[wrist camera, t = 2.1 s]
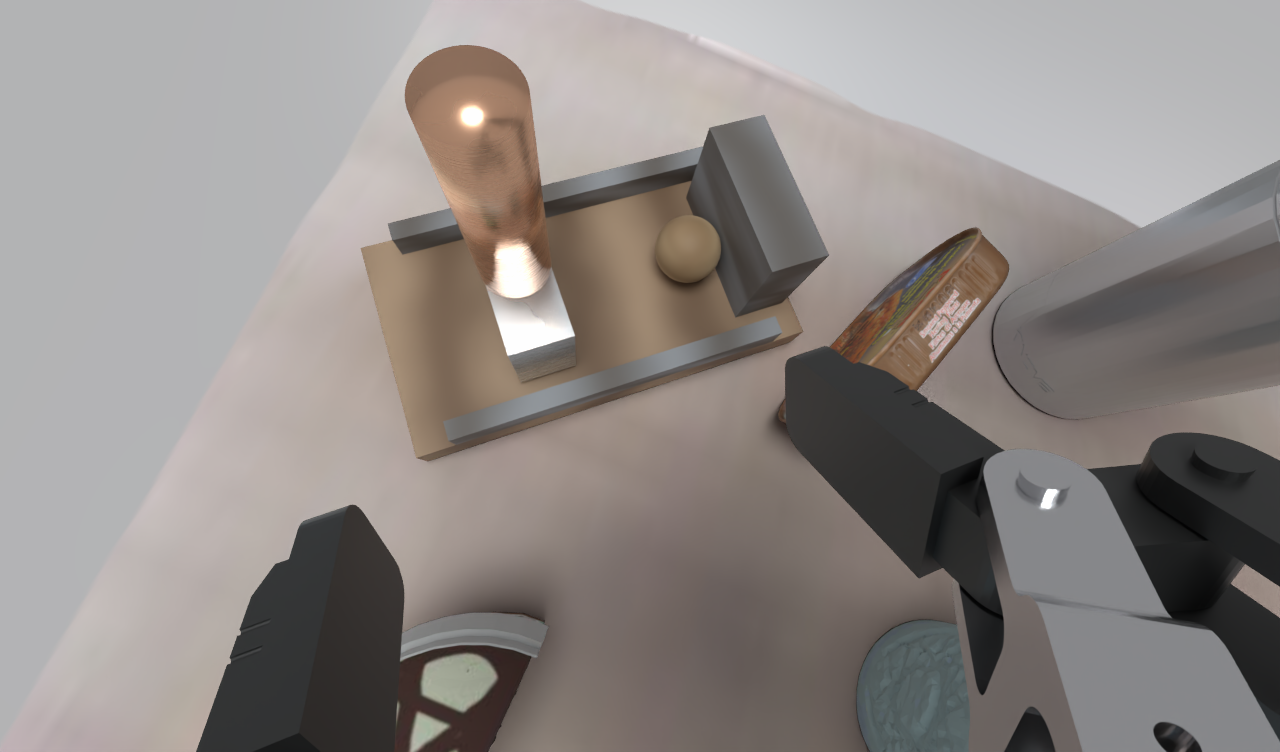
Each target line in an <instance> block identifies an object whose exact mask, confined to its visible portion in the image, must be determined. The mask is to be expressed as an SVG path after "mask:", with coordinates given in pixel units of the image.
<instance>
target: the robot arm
mask: <svg viewBox="0 0 1280 752" xmlns="http://www.w3.org/2000/svg"><path fill="white" fill-rule="evenodd" d="M993 342H994V347H995V352H996V357H997V359H998V362H999V364H1000V367H1001V369H1002V371H1003V373H1004V374H1005V376H1006V378H1007V379H1008V381H1009V382H1010V384H1011V385H1012V386H1013V387H1014V388H1015V390H1016V391H1017V392H1018V393H1019V394H1020V395H1021V396H1022V397H1023V398H1024V399H1026V400H1027V401H1028V402H1029V403H1031V404H1032V405H1033V406H1034V407H1036V408H1038V409H1040V410H1042V411H1044V412H1046V413H1047V414H1050V415H1053V416H1057V417H1060V418H1065V419H1076V420H1077V419H1084V418H1091V417H1097V416H1103V415H1109V414H1115V413H1120V412H1126V411H1132V410H1138V409H1144V408H1152V407H1157V406H1163V405H1169V404H1175V403H1180V402H1186V401H1192V400H1198V399H1203V398H1209V397H1215V396H1221V395H1227V394H1232V393H1238V392H1244V391H1250V390H1255V389H1261V388H1267V387H1273V386H1278V385H1280V160H1279V161H1277V162H1275V163H1272V164H1271V165H1268V166H1266V167H1264V168H1263V169H1260V170H1259V171H1257V172H1254V173H1252V174H1250V175H1248V176H1246V177H1244V178H1242V179H1240V180H1238V181H1236V182H1234V183H1232V184H1230V185H1228V186H1226V187H1224V188H1222V189H1220V190H1218V191H1216V192H1214V193H1212V194H1210V195H1208V196H1206V197H1204V198H1202V199H1200V200H1198V201H1196V202H1194V203H1192V204H1190V205H1188V206H1185V207H1184V208H1181V209H1179V210H1177V211H1175V212H1173V213H1171V214H1169V215H1167V216H1165V217H1163V218H1161V219H1159V220H1157V221H1155V222H1153V223H1151V224H1149V225H1147V226H1145V227H1143V228H1141V229H1139V230H1137V231H1135V232H1133V233H1131V234H1129V235H1127V236H1125V237H1123V238H1121V239H1119V240H1117V241H1115V242H1113V243H1111V244H1109V245H1107V246H1105V247H1103V248H1101V249H1099V250H1096V251H1094V252H1092V253H1090V254H1088V255H1086V256H1084V257H1082V258H1080V259H1078V260H1076V261H1074V262H1072V263H1070V264H1068V265H1066V266H1064V267H1062V268H1060V269H1058V270H1056V271H1054V272H1052V273H1050V274H1048V275H1046V276H1044V277H1042V278H1040V279H1037V280H1035V281H1033V282H1031V283H1029V284H1027V285H1025V286H1023V287H1021V288H1020V289H1018V290H1017V291H1015V292H1013V293H1012V294H1010V295H1009V297H1008V298H1007V299H1006V300H1005V301H1004V302H1003V303H1002V305H1001V307H1000V309H999V311H998V313H997V315H996V319H995V323H994V327H993ZM785 397H786V425H787V429H788V433H789V435H790V438H791V440H792V442H793V444H794V445H795V447H796V448H797V449H798V451H799V452H800V453H801V454H802V455H803V456H804V457H805V458H806V459H807V460H808V461H809V462H810V463H811V465H812V466H813V467H814V468H815V469H816V470H817V471H818V472H819V473H820V474H821V475H822V476H823V477H824V478H825V479H826V480H827V482H828V483H829V484H830V485H831V486H832V487H833V488H834V489H835V490H836V491H837V492H838V493H839V494H840V495H841V496H842V497H843V498H844V500H845V501H846V502H847V503H848V504H849V505H850V506H851V507H852V508H853V509H854V510H855V511H856V512H857V513H858V514H859V515H860V517H861V518H862V519H863V520H864V521H865V522H866V523H867V524H868V525H869V526H870V527H871V528H872V529H873V530H874V531H875V532H876V534H877V535H878V536H879V537H880V538H881V539H882V540H883V541H884V542H885V543H886V544H887V545H888V546H889V547H890V548H891V549H892V550H893V552H894V553H895V554H896V555H897V556H898V557H899V558H900V559H901V560H902V561H903V562H904V563H905V564H906V565H907V566H908V567H909V569H910V570H911V571H912V572H913V573H914V574H915V575H916V576H917V577H918V578H921V577H923V576H925V575H927V574H930V573H932V572H934V571H936V570H939V569H941V568H944V569H945V570H946V571H947V572H948V573H949V574H950V575H951V576H952V577H953V578H954V579H953V583H952V596H953V602H954V608H955V615H956V621H957V627H958V634H959V640H960V646H961V653H962V659H963V665H964V671H965V678H966V684H967V690H968V697H969V705H970V728H969V752H1280V618H1279V617H1278V616H1276V615H1275V614H1273V613H1272V612H1270V611H1269V610H1268V609H1266V608H1265V607H1263V606H1262V605H1260V604H1259V603H1257V602H1256V601H1255V600H1253V599H1252V598H1250V597H1249V596H1247V595H1246V594H1244V593H1243V592H1242V591H1240V590H1239V589H1237V588H1236V587H1234V586H1233V585H1231V584H1230V583H1231V582H1232V581H1233V579H1234V578H1235V577H1236V575H1237V574H1238V573H1239V571H1240V570H1241V569H1242V567H1243V566H1244V565H1245V564H1246V565H1248V566H1249V567H1251V568H1252V569H1254V570H1255V571H1257V572H1258V573H1260V574H1261V575H1263V576H1264V577H1266V578H1268V579H1269V580H1271V581H1272V582H1274V583H1275V584H1277V585H1278V586H1280V461H1279V460H1277V459H1275V458H1273V457H1271V456H1269V455H1267V454H1265V453H1263V452H1261V451H1259V450H1257V449H1255V448H1252V447H1250V446H1248V445H1245V444H1242V443H1240V442H1237V441H1233V440H1230V439H1227V438H1223V437H1218V436H1214V435H1208V434H1201V433H1173V434H1168V435H1164V436H1162V437H1159V438H1157V439H1156V440H1155V441H1154V442H1153V443H1152V444H1151V446H1150V448H1149V450H1148V452H1147V454H1146V456H1145V458H1144V460H1143V462H1142V464H1138V465H1127V466H1117V467H1106V468H1096V469H1085V468H1084V467H1082V466H1081V465H1079V464H1077V463H1075V462H1073V461H1071V460H1069V459H1067V458H1064V457H1062V456H1059V455H1056V454H1053V453H1049V452H1044V451H1040V450H1032V449H1013V450H1007V451H1005V450H1003V449H1001V448H1000V447H998V446H997V445H995V444H994V443H992V442H991V441H989V440H988V439H986V438H985V437H983V436H982V435H981V434H979V433H978V432H976V431H975V430H973V429H972V428H970V427H969V426H967V425H966V424H964V423H963V422H961V421H960V420H958V419H957V418H955V417H954V416H952V415H951V414H949V413H948V412H946V411H945V410H943V409H942V408H941V407H939V406H938V405H936V404H935V403H933V402H930V403H929V402H928V400H927V398H926V397H924V396H923V395H921V394H920V393H918V392H917V391H915V390H914V389H913V390H910V389H909V386H908V385H906V384H905V383H903V382H902V381H900V380H899V379H898V378H896V377H895V376H893V375H892V374H890V373H889V372H887V371H884V370H881V369H878V368H875V367H872V366H870V365H867V364H864V363H861V362H857V363H854V364H853V363H852V362H850V361H849V360H848V359H846V358H845V357H843V356H842V355H841V354H839V353H838V352H836V351H835V350H834V349H832V348H830V347H827V346H824V347H821V348H818V349H815V350H812V351H809V352H806V353H803V354H800V355H797V356H794V357H791V358H789V359H788V360H787V362H786V366H785ZM403 610H404V585H403V580H402V576H401V573H400V570H399V567H398V565H397V563H396V561H395V559H394V558H393V556H392V555H391V553H390V552H389V550H388V549H387V547H386V546H385V544H384V543H383V541H382V540H381V538H380V537H379V535H378V534H377V532H376V531H375V529H374V528H373V526H372V525H371V523H370V522H369V520H368V519H367V517H366V516H365V514H364V513H363V512H362V510H361V509H360V508H359V507H357V506H356V505H349V506H346V507H343V508H340V509H338V510H335V511H332V512H329V513H326V514H323V515H320V516H317V517H314V518H311V519H308V520H305V521H303V522H302V523H301V525H300V526H299V529H298V531H297V535H296V538H295V541H294V545H293V548H292V551H291V554H290V558H289V560H286V561H283V562H280V563H277V564H275V565H274V567H273V568H272V569H271V571H270V572H269V573H268V575H267V576H266V578H265V579H264V580H263V582H262V583H261V584H260V586H259V587H258V588H257V590H256V591H255V592H254V594H253V595H252V597H251V599H250V602H249V605H248V608H247V610H246V613H245V616H244V619H243V622H242V624H241V627H240V631H241V635H239V636H237V639H236V641H235V644H234V647H233V650H232V653H231V655H230V659H231V664H228V665H227V667H226V669H225V672H224V675H223V678H222V681H221V684H220V686H219V689H218V692H217V695H216V698H215V700H214V703H213V706H212V709H211V712H210V714H209V717H208V720H207V723H206V726H205V729H204V731H203V734H202V737H201V740H200V743H199V745H198V748H197V751H196V752H394V747H395V732H396V717H397V702H398V686H399V671H400V656H401V641H402V625H403Z"/></svg>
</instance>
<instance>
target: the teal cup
mask: <svg viewBox="0 0 1280 752" xmlns="http://www.w3.org/2000/svg"><path fill="white" fill-rule="evenodd" d="M857 714H858V720H859V724H860V728H861V732H862V735H863V738H864V740H865V742H866V745H867V747H868V749H869V751H870V752H969V728H970V705H969V697H968V690H967V684H966V678H965V671H964V665H963V659H962V653H961V646H960V640H959V634H958V627H957V625H956V624H951V623H946V622H941V621H934V620H918V621H911V622H908V623H904V624H902V625H900V626H897V627H895V628H893V629H891V630H890V631H889V632H887V633H886V634H885V635H883V636H882V637H881V638H880V639H879V640H878V641H877V642H876V643H875V644H874V646H873V647H872V649H871V650H870V652H869V653H868V655H867V657H866V659H865V661H864V663H863V666H862V669H861V672H860V675H859V679H858V686H857Z"/></svg>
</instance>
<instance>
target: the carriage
mask: <svg viewBox="0 0 1280 752" xmlns="http://www.w3.org/2000/svg"><path fill="white" fill-rule="evenodd" d="M405 102H406V107H407V110H408V112H409V115H410V117H411V119H412V122H413V124H414V126H415V129H416V131H417V133H418V135H419V138H420V140H421V142H422V144H423V147H424V149H425V151H426V154H427V156H428V158H429V160H430V163H431V165H432V167H433V169H434V172H435V174H436V176H437V178H438V181H439V183H440V185H441V188H442V190H443V192H444V194H445V197H446V199H447V201H448V203H449V206H450V208H451V210H452V213H453V215H454V217H455V219H456V222H457V224H458V226H459V228H460V231H461V233H462V235H463V238H464V240H465V242H466V244H467V247H468V249H469V251H470V253H471V256H472V258H473V260H474V263H475V265H476V267H477V269H478V272H479V274H480V276H481V278H482V280H483V282H484V283H485V285H486V288H487V291H488V294H489V297H490V301H491V304H492V307H493V310H494V313H495V317H496V320H497V323H498V326H499V329H500V332H501V336H502V339H503V342H504V345H505V348H506V352H507V355H508V357H509V359H510V361H511V363H512V365H513V367H514V369H515V371H516V374H517V376H518V378H519V380H520V382H525V381H528V380H531V379H534V378H537V377H541V376H544V375H547V374H550V373H553V372H557V371H560V370H563V369H566V368H569V367H573V366H576V350H575V335H574V332H573V329H572V326H571V323H570V320H569V317H568V314H567V311H566V308H565V305H564V302H563V300H562V297H561V294H560V291H559V288H558V285H557V282H556V279H555V276H554V273H553V270H552V268H551V258H550V250H549V242H548V234H547V226H546V218H545V210H544V202H543V194H542V186H541V178H540V170H539V162H538V155H537V147H536V139H535V131H534V123H533V115H532V107H531V99H530V91H529V86H528V83H527V81H526V78H525V76H524V75H523V73H522V72H521V70H520V69H519V68H518V67H517V65H516V64H514V63H513V62H512V61H511V60H510V59H508V58H507V57H506V56H504V55H502V54H500V53H499V52H496V51H494V50H491V49H488V48H485V47H480V46H472V45H459V46H452V47H448V48H444V49H441V50H439V51H436V52H434V53H432V54H430V55H429V56H427V57H426V58H424V59H423V60H422V61H421V62H420V63H419V64H418V65H417V66H416V67H415V68H414V70H413V71H412V73H411V74H410V76H409V79H408V81H407V84H406V88H405Z"/></svg>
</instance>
